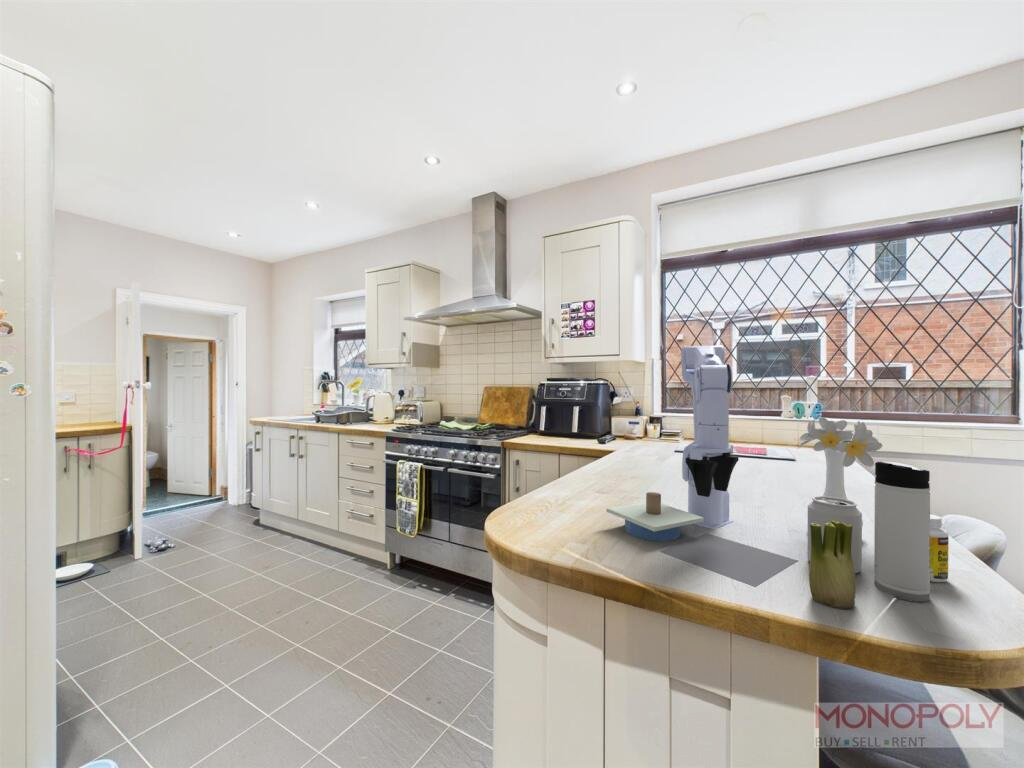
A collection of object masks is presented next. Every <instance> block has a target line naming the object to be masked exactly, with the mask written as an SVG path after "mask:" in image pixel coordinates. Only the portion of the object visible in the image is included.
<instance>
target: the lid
mask: <svg viewBox="0 0 1024 768" xmlns="http://www.w3.org/2000/svg"><path fill="white" fill-rule="evenodd" d="M645 495H646V496H645V498H646V500H645V501H642V502H637V503H630V504H625V505H624V504H623V505H618V506H613V507H606V510H605V511H606V513H609V514H611V515H612V516H616V517H618V518H621V519H623V520H624V521H625V520H628V521H630V522H632V523H635V524H637V525H640V526H642V527H645V528H647V529H649V530H652V531H654V532H655V531H660V530H664V529H669V528H674V527H679V526H680V527H683V526H688V525H692V524H693V525H695V524H694V523H699V522H704V518H703V517H700V516H697V515H694V514H691V513H688V511H686V510H685V511H684V510H682V509H679V508H676V507H672V506H669V505H666V504H663V503H662V494H661V493H659V492H655V491H653V492H651V491H650V492H646V494H645Z"/></svg>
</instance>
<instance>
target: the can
mask: <svg viewBox="0 0 1024 768" xmlns="http://www.w3.org/2000/svg"><path fill="white" fill-rule="evenodd" d="M811 499H812V501H811V502H810V503H809V504H807V548H806V549H807V552H806V553H807V555H806V556H807V560H808V561H809V562H810V558H811V529H810V524H811V523H816V524H819V525H821V534H822V544H823V535H824V526H825V523H831V521H838V522H840V524H841V523H847V524H849V525H852V526H853V528H852V539H851V556H852V561H853V566H854V571H855V575H856V574H858V573H860V572H862V569H863V562H862V561H863V539H862V538H863V535H862V534H863V527H862V520H863V513H862V512H861V511H860V510H859V509H858V508H857V506H858V504H857V502H855V501H853V500H850V499H848V500H846V499H842V498H836V497H827V496H823V495H820V496H819V495H817V496H813V497H812V498H811ZM831 524H832V523H831Z"/></svg>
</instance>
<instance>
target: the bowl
mask: <svg viewBox="0 0 1024 768" xmlns="http://www.w3.org/2000/svg"><path fill="white" fill-rule="evenodd" d="M624 529H625V531H626V532H627V534H629V535H631V536H634V537H637V538H640V539H643V540H650V541H656V542H659V541H660V542H662V541H664V542H666V541H667V542H668V541H673V540H676V539H678V538H679V537H680V535H681V526H679V527H674V528H669V529H664V530H660V531H655V532H654V531H652V530H649V529H647V528H645V527H642V526H640V525H637V524H635V523H632V522H630V521H628V520H625V519H624Z"/></svg>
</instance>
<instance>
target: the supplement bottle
mask: <svg viewBox="0 0 1024 768" xmlns="http://www.w3.org/2000/svg"><path fill="white" fill-rule="evenodd" d="M948 580H949V532H948V531H947V530H946V529H944V528H943V522H942V517H941V516H940V515H939V516H938V515H935V514H931V513H930V581H931V582H930V583H945V582H947V581H948Z"/></svg>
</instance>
